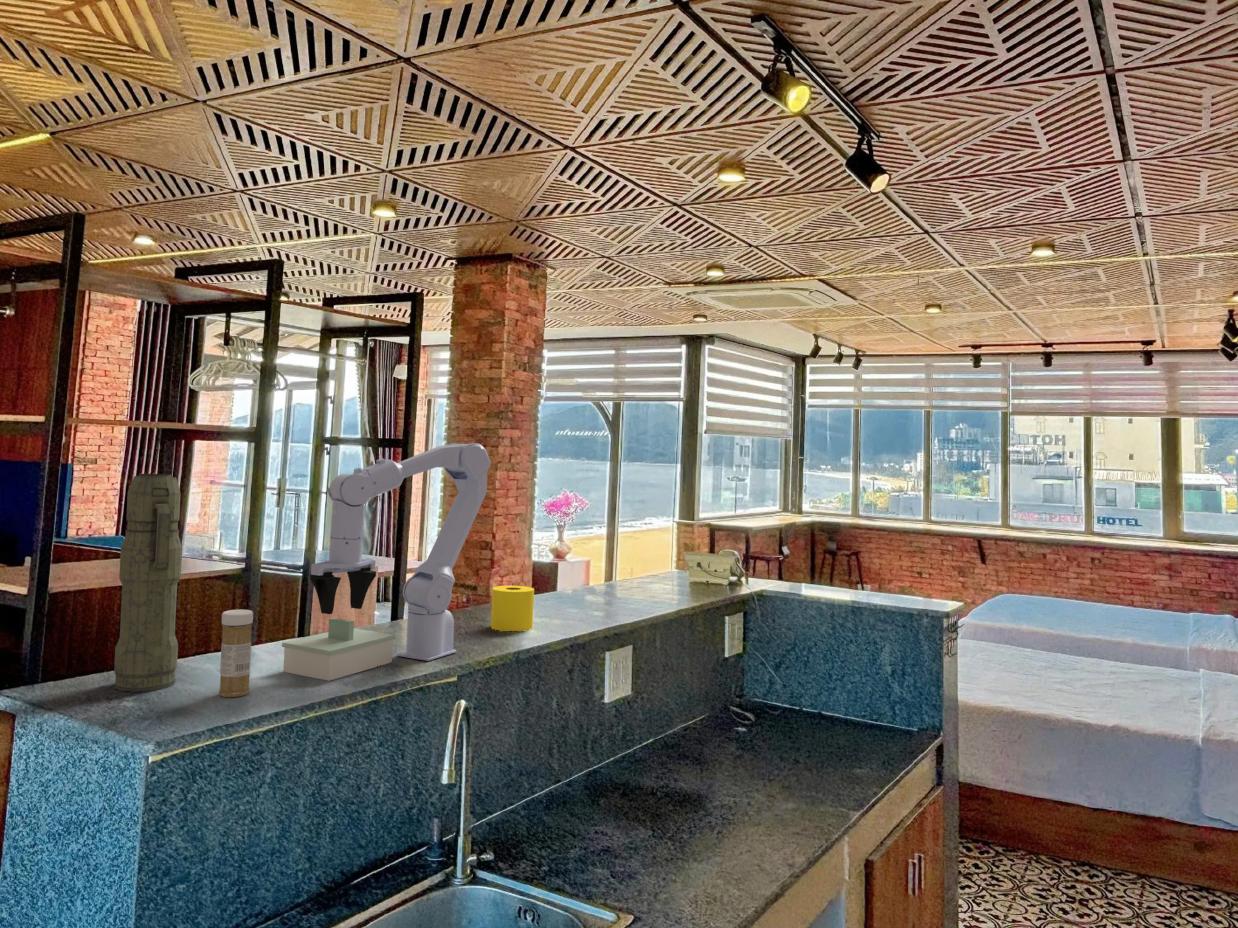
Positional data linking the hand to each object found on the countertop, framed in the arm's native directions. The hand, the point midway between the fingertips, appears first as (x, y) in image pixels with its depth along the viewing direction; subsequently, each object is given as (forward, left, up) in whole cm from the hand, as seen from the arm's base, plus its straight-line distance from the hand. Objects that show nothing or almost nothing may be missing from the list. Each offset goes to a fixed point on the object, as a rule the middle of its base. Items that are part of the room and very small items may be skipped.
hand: (341, 610), depth 147 cm
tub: (0, 0, -11) cm, 11 cm away
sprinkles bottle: (+22, -1, -11) cm, 24 cm away
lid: (0, 0, -7) cm, 7 cm away
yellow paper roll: (-50, +6, -11) cm, 52 cm away
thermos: (+26, -17, -11) cm, 33 cm away
